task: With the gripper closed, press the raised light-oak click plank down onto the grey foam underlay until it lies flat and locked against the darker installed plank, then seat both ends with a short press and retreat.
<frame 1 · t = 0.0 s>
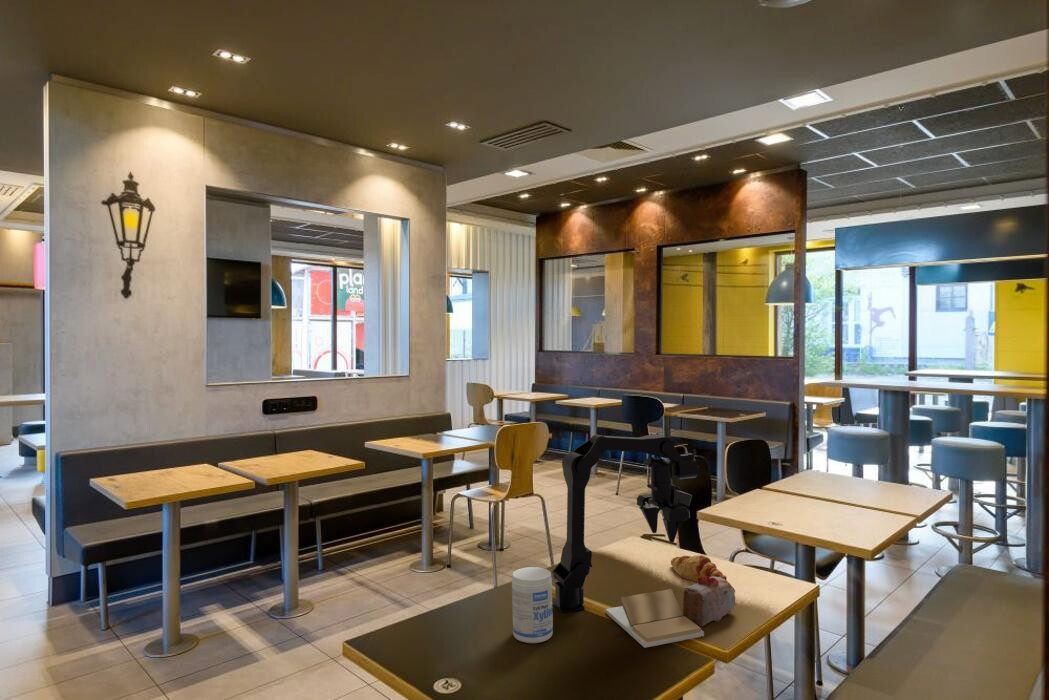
hand: (663, 537, 173), 15 cm above the table, fingers open, 9 cm apart
click plank: (651, 607, 153), point 4 cm above the table, hinge at 40.0°
supplement tub: (533, 636, 149), on the table
floor panel: (652, 623, 153), on the table
food item: (709, 617, 156), on the table
croissant: (697, 577, 184), on the table
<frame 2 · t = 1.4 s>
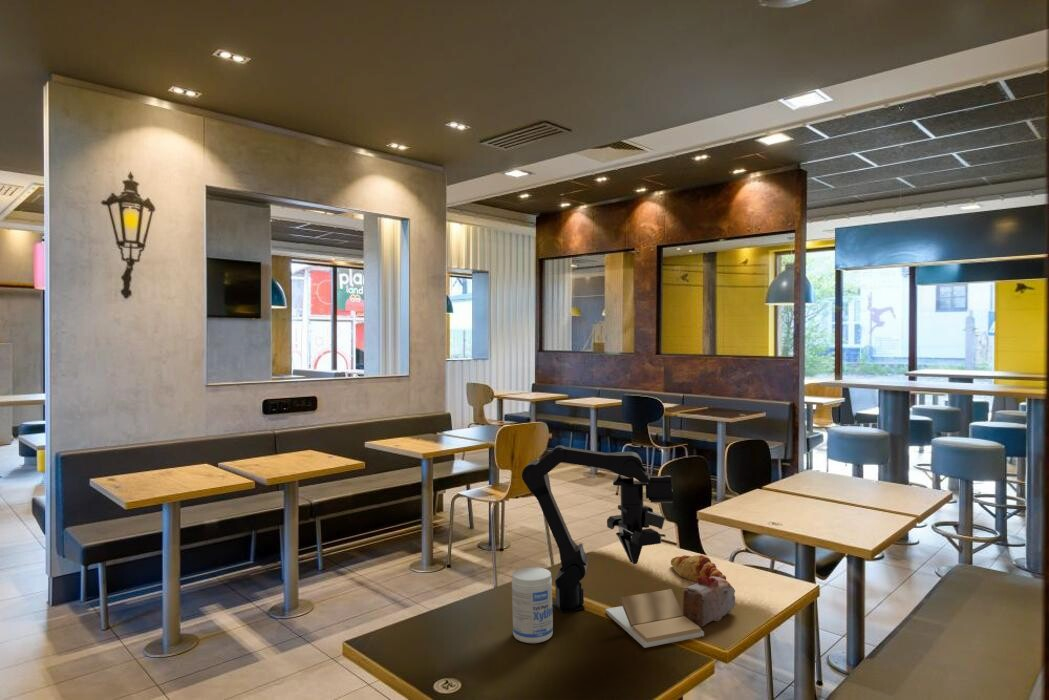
hand: (633, 562, 161), 12 cm above the table, fingers closed
nothing on the table moved.
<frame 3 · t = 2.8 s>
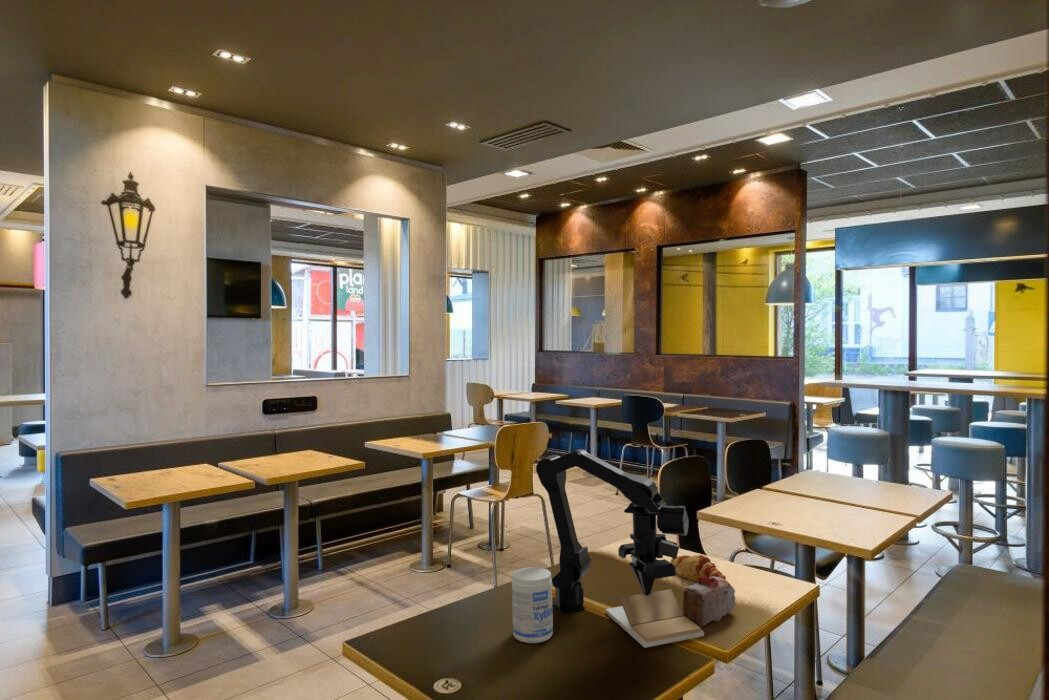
hand: (646, 594, 155), 6 cm above the table, fingers closed
click plank: (651, 607, 153), point 4 cm above the table, hinge at 39.8°, touching gripper
everything else where it was.
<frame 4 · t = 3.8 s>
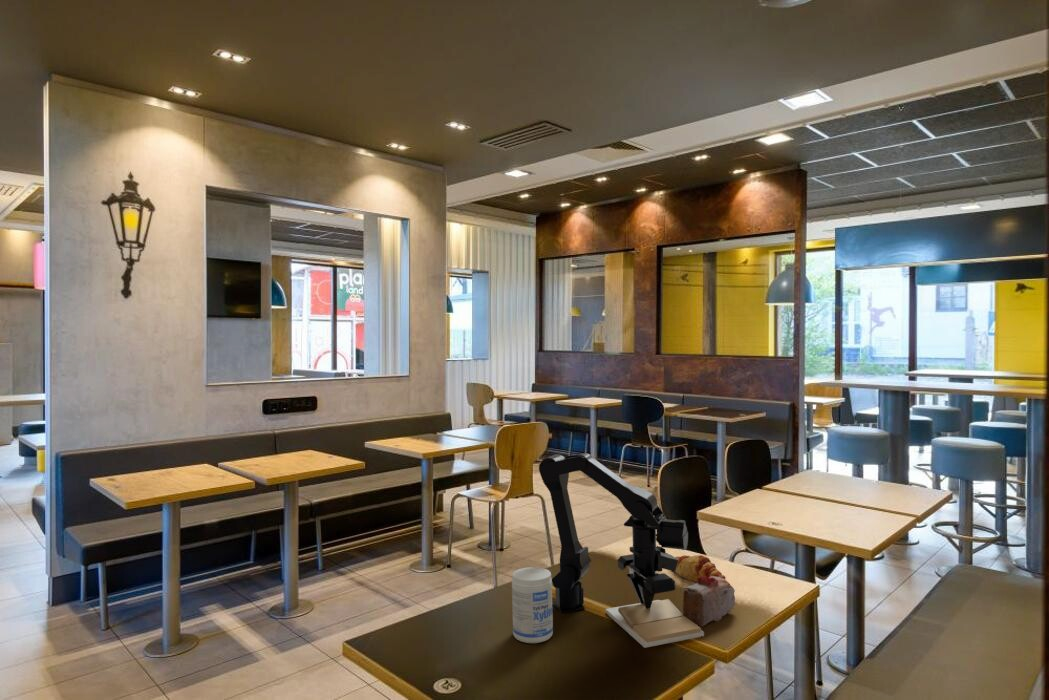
hand: (645, 606, 156), 3 cm above the table, fingers closed on click plank, 2 cm apart
click plank: (650, 613, 154), point 2 cm above the table, hinge at 11.6°, touching gripper
everything else where it was.
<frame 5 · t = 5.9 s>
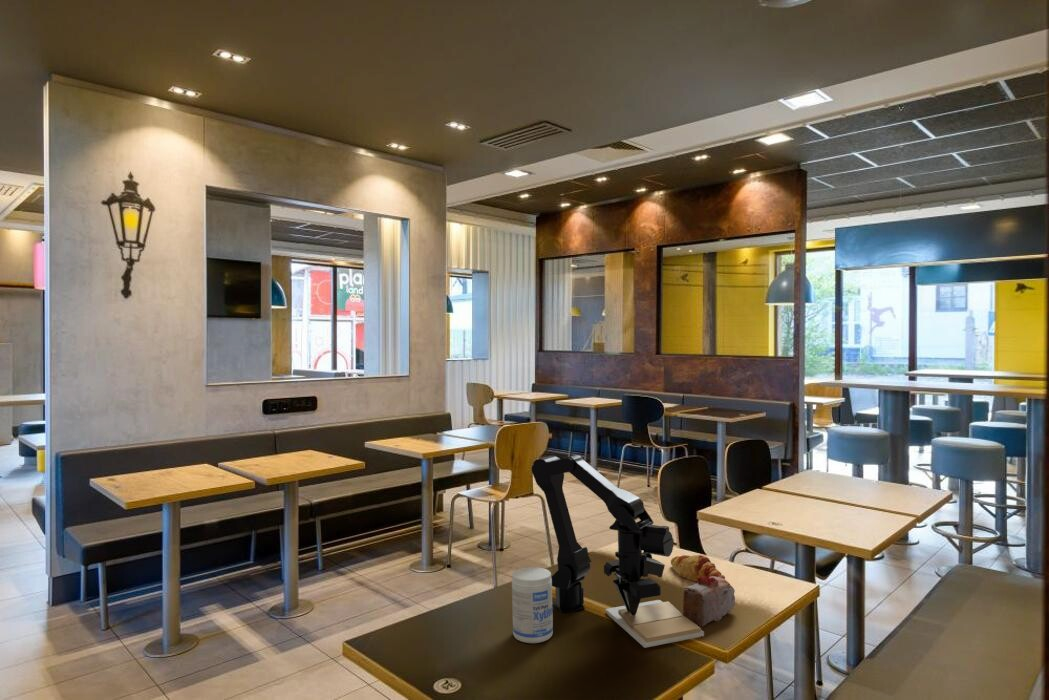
hand: (631, 613, 153), 3 cm above the table, fingers closed
click plank: (650, 614, 154), point 2 cm above the table, hinge at 7.1°, touching gripper
everything else where it was.
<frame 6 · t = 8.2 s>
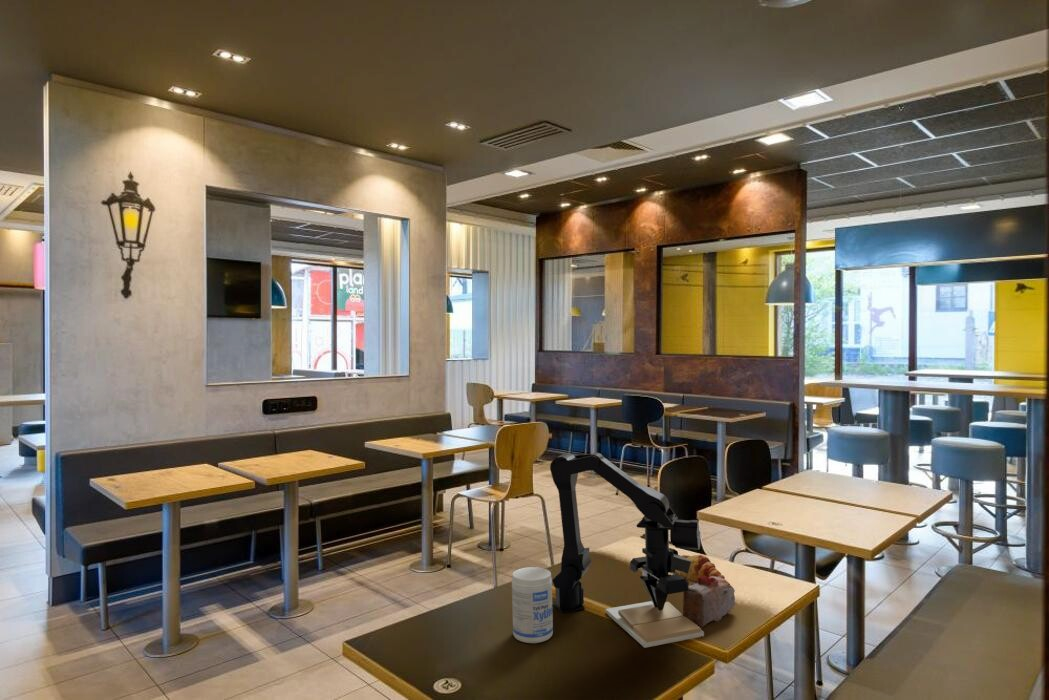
hand: (658, 608, 156), 2 cm above the table, fingers closed
click plank: (650, 614, 154), point 2 cm above the table, hinge at 6.3°, touching gripper
everything else where it was.
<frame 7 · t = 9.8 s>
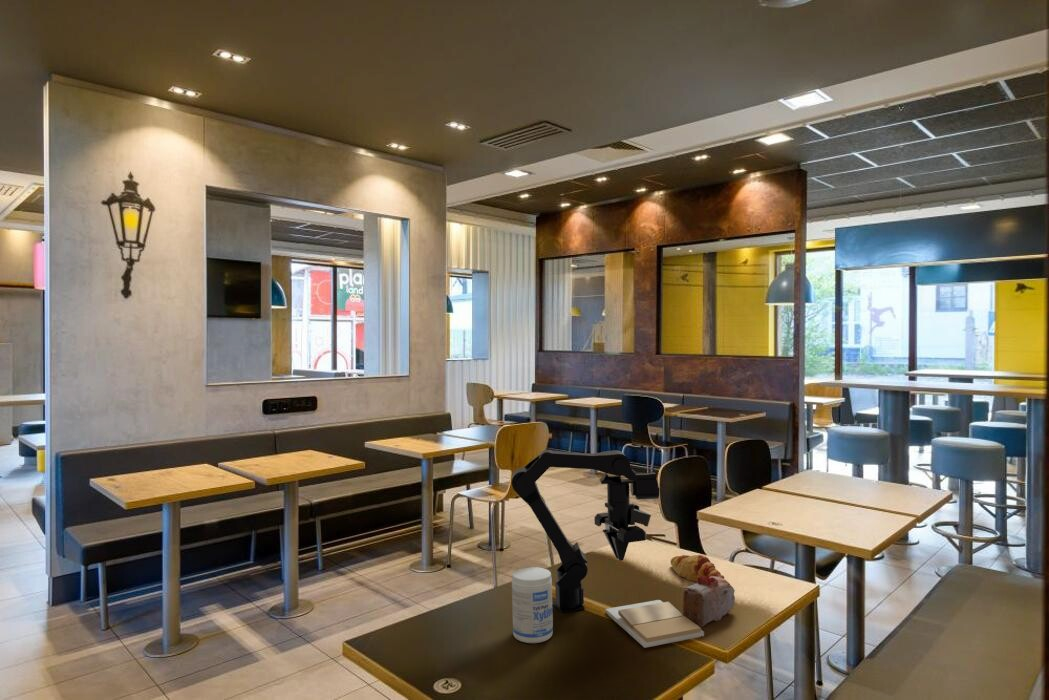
hand: (619, 559, 164), 12 cm above the table, fingers closed
click plank: (650, 614, 154), point 2 cm above the table, hinge at 6.3°
everything else where it was.
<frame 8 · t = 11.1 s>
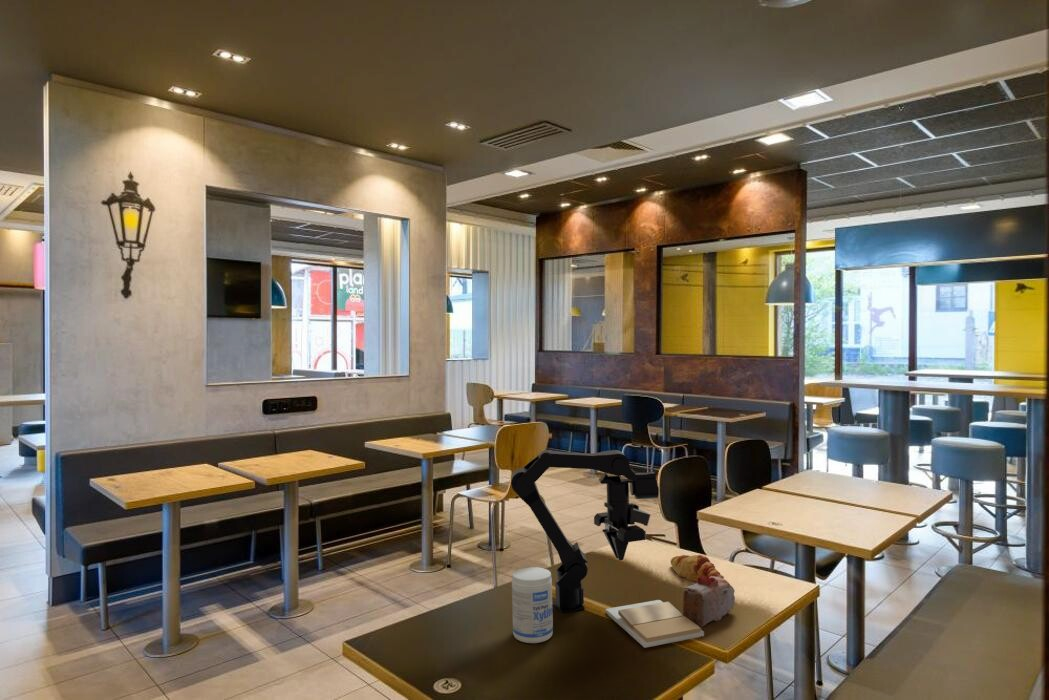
hand: (619, 559, 165), 12 cm above the table, fingers closed
nothing on the table moved.
at the end: click plank at +6° (first picture: +40°); click plank touching nothing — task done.
